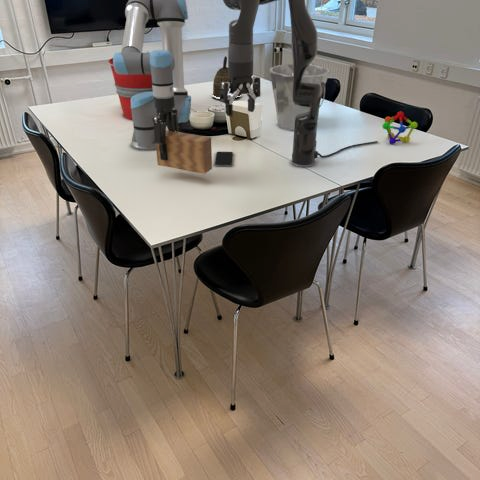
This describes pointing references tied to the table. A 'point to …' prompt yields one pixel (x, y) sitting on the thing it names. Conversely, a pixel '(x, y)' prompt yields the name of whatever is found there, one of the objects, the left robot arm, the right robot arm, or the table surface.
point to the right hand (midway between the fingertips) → (240, 113)
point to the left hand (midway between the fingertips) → (168, 156)
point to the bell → (221, 78)
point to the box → (187, 152)
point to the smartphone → (224, 159)
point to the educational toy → (398, 128)
